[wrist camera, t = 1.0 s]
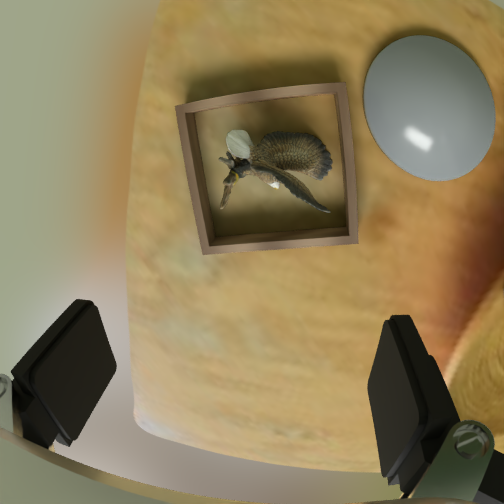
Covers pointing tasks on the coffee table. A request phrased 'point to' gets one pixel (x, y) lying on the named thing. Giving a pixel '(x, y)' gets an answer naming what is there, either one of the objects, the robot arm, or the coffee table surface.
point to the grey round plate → (429, 108)
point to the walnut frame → (273, 239)
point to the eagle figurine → (276, 162)
